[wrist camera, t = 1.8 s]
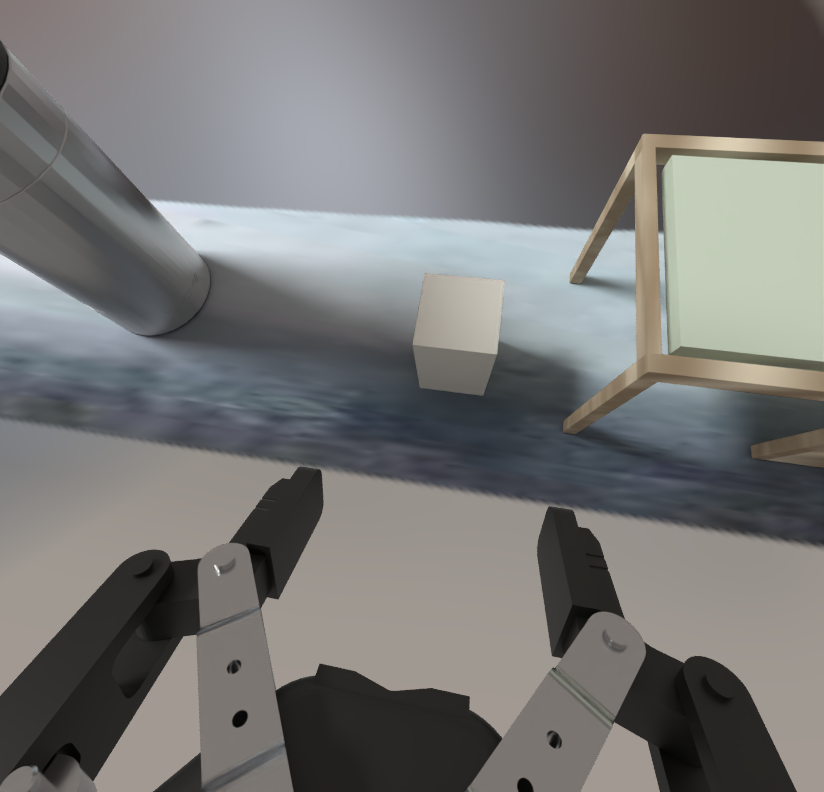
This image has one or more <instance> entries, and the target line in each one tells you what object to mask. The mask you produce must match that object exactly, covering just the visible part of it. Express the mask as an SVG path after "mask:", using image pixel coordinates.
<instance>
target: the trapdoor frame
mask: <svg viewBox="0 0 824 792" xmlns="http://www.w3.org/2000/svg"><path fill="white" fill-rule="evenodd" d="M672 155H678V156H695V157H712V158H729V159H747V160H764V161H781V162H798V163H816V164H824V142H811V141H790V140H768V139H746V138H724V137H702V136H679V135H678V136H677V135H659V134H643V136H642V137H641V139H640V141H639V143H638V145H637V147H636V149H635V151H634V153H633V155H632V156H631V158H630V160H629V162H628V164H627V166H626V168H625V170H624V172H623V174H622V176H621V177H620V179H619V181H618V183H617V185H616V187H615V189H614V191H613V193H612V195H611V197H610V199H609V201H608V202H607V205H606V206H605V208H604V210H603V212H602V214H601V216H600V218H599V220H598V222H597V224H596V226H595V227H594V229H593V231H592V233H591V235H590V237H589V239H588V241H587V243H586V244H585V246H584V248H583V250H582V252H581V254H580V256H579V258H578V260H577V262H576V264H575V266H574V267H573V269H572V271H571V273H570V283H576V284H581V283H582V281H583V280H584V278H585V276H586V274H587V273H588V271H589V269H590V268H591V266H592V264H593V263H594V261H595V259H596V258H597V256H598V254H599V252H600V251H601V249H602V247H603V246H604V244H605V242H606V241H607V239H608V237H609V236H610V234H611V232H612V230H613V229H614V227H615V225H616V223H617V222H618V220H619V218H620V217H621V215H622V213H623V212H624V210H625V208H626V207H627V205H628V203H629V201H630V200H631V198H632V196H633V195H634V193H635V245H636V341H637V362H635V363H634V364H633V365H632V366H630V367H629V368H628V369H627V370H626V371H624V372H623V373H622V374H621V375H619V376H618V377H617V378H616V379H614V380H613V381H612V382H611V383H609V384H608V385H607V386H606V387H605V388H603V389H602V390H601V391H600V392H598V393H597V394H596V395H595V396H593V397H592V398H591V399H590V400H588V401H587V402H586V403H585V404H583V405H582V406H581V407H580V408H579V409H577V410H576V411H575V412H574V413H572V414H571V415H570V416H569V417H567V418H566V419H565V420H564V421H563V433H571V434H576V433H578V432H579V431H581V430H583V429H584V428H586V427H587V426H589V425H591V424H592V423H594V422H595V421H597V420H598V419H600V418H602V417H603V416H605V415H606V414H608V413H609V412H611V411H613V410H614V409H616V408H617V407H619V406H620V405H622V404H624V403H625V402H627V401H628V400H630V399H631V398H633V397H635V396H636V395H638V394H639V393H641V392H643V391H644V390H646V389H647V388H649V387H650V386H652V385H654V384H655V383H657V382H663V383H671V384H680V385H689V386H697V387H706V388H714V389H723V390H731V391H740V392H748V393H757V394H766V395H774V396H783V397H791V398H800V399H808V400H817V401H824V372H820V371H811V370H802V369H793V368H783V367H774V366H765V365H756V364H747V363H737V362H728V361H719V360H710V359H701V358H691V357H682V356H673V355H664V354H662V340H661V308H660V275H659V243H658V213H657V181H656V180H657V179H656V164H663V165H666V164H667V162H668V161H669V159H670V158H671V156H672ZM751 454H752V458H755V459H763V460H770V461H778V462H785V463H792V464H800V465H807V466H815V467H822V468H824V428H822V429H818V430H814V431H810V432H805V433H801V434H797V435H793V436H788V437H784V438H780V439H776V440H772V441H767V442H763V443H759V444H755V445H751Z"/></svg>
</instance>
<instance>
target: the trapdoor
mask: <svg viewBox="0 0 824 792" xmlns="http://www.w3.org/2000/svg"><path fill="white" fill-rule="evenodd" d="M662 194H663V195H662V197H663V224H664V253H665V280H666V308H667V336H668V355H673V356H682V357H691V358H701V359H710V360H719V361H728V362H737V363H747V364H756V365H765V366H774V367H783V368H793V369H802V370H811V371H820V372H824V164H816V163H798V162H781V161H764V160H747V159H729V158H712V157H695V156H678V155H672V156H671V158H670V159H669V161H668V162H667V164H666V165H665V167H664V169H663V170H662Z"/></svg>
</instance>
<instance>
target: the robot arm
mask: <svg viewBox="0 0 824 792" xmlns="http://www.w3.org/2000/svg"><path fill="white" fill-rule="evenodd" d="M0 254H2V255H3V256H5V257H7V258H8V259H10V260H12V261H13V262H15V263H17V264H18V265H20V266H22V267H23V268H25V269H27V270H28V271H30V272H32V273H33V274H35V275H37V276H38V277H40V278H42V279H43V280H45V281H47V282H48V283H50V284H52V285H53V286H55V287H57V288H58V289H60V290H62V291H63V292H65V293H67V294H68V295H70V296H72V297H73V298H75V299H77V300H78V301H80V302H82V303H83V304H85V305H86V306H88V307H90V308H91V309H93V310H95V311H96V312H98V313H100V314H101V315H103V316H105V317H106V318H108V319H110V320H111V321H113V322H115V323H116V324H118V325H120V326H122V327H123V328H125V329H127V330H129V331H130V332H132V333H136V334H140V335H159V334H164V333H167V332H169V331H172V330H175V329H176V328H178V327H180V326H182V325H183V324H185V323H186V322H187V321H189V320H190V319H191V318H192V317H193V316H194V315H195V314H196V313H197V312H198V311H199V310H200V308H201V307H202V305H203V303H204V302H205V300H206V298H207V295H208V292H209V288H210V273H209V270H208V267H207V265H206V263H205V262H204V261H203V259H202V258H201V257H200V256H199V255H198V254H197V253H196V251H195V250H194V249H193V248H192V247H191V246H190V245H189V244H188V243H187V242H186V241H185V240H184V238H183V237H182V236H181V235H180V234H179V233H178V232H177V231H176V230H175V228H174V227H173V226H172V225H171V224H170V223H169V222H168V221H167V220H166V219H165V218H164V216H163V215H162V214H161V213H160V212H159V211H158V210H157V209H156V208H155V207H154V206H153V205H152V204H151V202H150V201H149V200H148V199H147V198H146V197H145V196H144V195H143V194H142V193H141V192H140V191H139V189H138V188H137V187H136V186H135V185H134V184H133V183H132V182H131V181H130V180H129V179H128V178H127V177H126V175H124V173H122V171H121V170H120V169H119V168H118V167H117V166H116V165H115V164H114V163H113V161H112V160H111V159H110V158H109V157H108V156H107V155H106V154H105V153H104V152H103V151H102V150H101V148H100V147H99V146H98V145H97V144H96V143H95V142H94V141H93V140H92V139H91V138H90V137H89V136H88V134H87V133H86V132H85V131H84V130H83V129H82V128H81V127H80V126H79V125H78V124H77V123H76V121H75V120H74V119H73V118H72V117H71V116H70V115H69V114H68V113H67V112H66V111H65V110H64V109H63V108H62V106H61V105H60V104H59V103H57V102H56V100H55V99H54V98H53V97H52V96H51V95H50V94H49V93H48V92H47V90H46V89H44V87H43V86H42V85H41V84H40V83H39V82H38V81H37V80H36V79H35V78H34V76H33V75H32V74H31V73H30V72H29V71H28V70H27V69H26V68H25V67H24V66H23V65H22V64H21V62H20V61H19V60H18V59H17V58H16V57H15V56H14V55H13V54H12V53H11V52H10V51H9V49H8V48H7V47H6V46H5V45H4V44H3V43H2V42H1V41H0ZM322 509H323V488H322V473H321V470H319V469H313V468H307V467H299V468H298V469H297V470H296V471H295V473H294V474H293V476H292V477H291V479H284V478H283V479H281V480H280V481H278V482H277V483H275V484H274V485H272V486H271V487H270V488H269V490H268V491H267V492H266V493H265V495H264V496H263V497H262V500H260V502H259V503H258V504H257V506H256V508H255V509H254V510H253V511H252V512H251V514H250V515H249V516H248V518H247V519H246V520H245V522H244V523H243V525H242V526H241V527H240V529H239V530H238V531H237V533H236V534H235V536H234V537H233V538H232V539H231V541H230V542H229V543H226V544H222V545H220V546H217V547H215V548H213V549H212V550H210V551H209V552H208V553H207V554H205V556H204V557H203V558H201V559H194V560H184V561H175V562H171V561H170V558H169V556H168V554H167V553H166V552H164V551H161V550H147V551H144V552H140V553H138V554H135V555H133V556H131V557H130V558H128V559H127V560H125V561H124V562H123V563H122V564H121V565H120V566H119V567H118V568H117V569H116V570H115V571H114V572H113V573H112V574H111V575H110V577H109V578H108V579H107V580H106V581H105V582H104V583H103V584H102V585H101V586H100V587H99V589H98V590H97V591H96V592H95V593H94V594H93V595H92V596H91V597H90V598H89V599H88V601H87V602H86V603H85V604H84V605H83V606H82V607H81V608H80V609H79V610H78V611H77V613H76V614H75V615H74V616H73V617H72V618H71V619H70V620H69V621H68V622H67V624H66V625H65V626H64V627H63V628H62V629H61V630H60V631H59V632H58V633H57V635H56V636H55V637H54V638H53V639H52V640H51V641H50V642H49V643H48V644H47V645H46V647H45V648H44V649H43V650H42V651H41V652H40V653H39V654H38V655H37V656H36V657H35V659H34V660H33V661H32V662H31V663H30V664H29V665H28V666H27V667H26V668H25V669H24V671H23V672H22V673H21V674H20V675H19V676H18V677H17V678H16V679H15V680H14V682H13V683H12V684H11V685H10V686H9V687H8V688H7V689H6V690H5V691H4V692H3V694H2V695H1V696H0V792H97V789H96V786H95V784H94V783H93V781H94V779H95V777H96V776H97V774H98V772H99V771H100V769H101V768H102V766H103V765H104V763H105V761H106V760H107V758H108V756H109V755H110V753H111V752H112V750H113V749H114V747H115V745H116V744H117V742H118V740H119V739H120V737H121V736H122V734H123V732H124V731H125V729H126V728H127V726H128V724H129V723H130V721H131V720H132V718H133V716H134V715H135V713H136V711H137V710H138V708H139V707H140V705H141V704H142V702H143V700H144V699H145V697H146V695H147V694H148V692H149V691H150V689H151V687H152V686H153V684H154V682H155V681H156V679H157V677H158V676H159V675H160V673H161V671H162V670H163V668H164V667H165V665H166V663H167V662H168V660H169V658H170V657H171V655H172V654H173V652H174V650H175V649H176V647H177V646H178V644H179V642H180V641H181V639H182V638H183V636H190V635H197V664H198V691H199V718H200V744H201V752H200V753H199V754H198V755H197V756H196V757H194V758H193V759H192V760H191V761H190V762H189V763H187V764H186V765H185V766H184V767H182V768H181V769H180V770H179V771H178V772H177V773H175V774H174V775H173V776H172V777H170V778H169V779H168V780H167V781H166V782H164V783H163V784H162V785H161V786H160V787H158V788H157V789H156V790H155V791H153V792H580V791H581V789H582V787H583V785H584V783H585V781H586V779H587V777H588V775H589V773H590V771H591V769H592V767H593V765H594V763H595V761H596V759H597V757H598V755H599V753H600V751H601V749H602V747H603V744H604V743H605V740H606V738H607V736H608V734H609V732H610V730H611V728H612V726H613V724H614V722H615V723H617V724H619V725H620V726H622V727H624V728H626V729H627V730H629V731H631V732H633V733H634V734H636V735H638V736H640V737H641V738H643V739H645V740H646V741H648V745H649V749H650V753H651V757H652V761H653V765H654V769H655V773H656V777H657V781H658V785H659V789H660V792H797V791H796V789H795V787H794V785H793V783H792V781H791V779H790V777H789V775H788V772H787V770H786V768H785V766H784V764H783V762H782V760H781V758H780V756H779V754H778V752H777V750H776V747H775V745H774V744H773V741H772V739H771V737H770V735H769V733H768V731H767V729H766V727H765V724H764V723H763V720H762V718H761V716H760V714H759V712H758V710H757V708H756V706H755V704H754V702H753V700H752V698H751V695H750V694H749V692H748V690H747V689H746V687H745V686H744V684H743V683H742V682H741V681H740V680H739V679H738V678H737V676H736V675H734V674H733V673H732V672H731V671H730V670H729V669H727V668H726V667H724V666H723V665H722V664H720V663H718V662H716V661H714V660H712V659H709V658H706V657H702V656H694V657H690V658H689V659H687V661H685V663H683V662H680V661H679V660H677V659H674V658H672V657H670V656H668V655H666V654H664V653H662V652H660V651H658V650H656V649H654V648H652V647H651V646H649V645H648V644H646V643H645V642H644V641H643V639H642V637H641V636H640V634H639V632H638V631H637V630H636V629H635V628H634V627H633V626H632V625H631V624H630V623H629V622H628V621H626V620H625V618H624V615H623V613H622V610H621V607H620V604H619V600H618V597H617V595H616V591H615V588H614V585H613V582H612V579H611V576H610V573H609V571H608V567H607V564H606V561H605V559H604V555H603V552H602V549H601V546H600V543H599V541H598V540H597V539H596V538H595V536H594V535H593V534H592V533H591V531H590V530H589V529H587V528H581V527H578V525H577V521H576V517H575V514H574V512H573V510H569V509H563V508H557V507H548V509H547V512H546V515H545V519H544V522H543V525H542V529H541V533H540V535H539V539H538V547H537V556H538V564H539V569H540V577H541V584H542V591H543V598H544V604H545V611H546V618H547V625H548V632H549V639H550V646H551V652H552V656H554V657H560V658H562V659H561V661H560V662H559V664H558V665H557V666H556V667H555V668H552V669H551V670H550V671H549V673H548V674H547V675H546V677H545V678H544V680H543V681H542V683H541V684H540V686H539V687H538V688H537V690H536V691H535V693H534V694H533V696H532V697H531V698H530V700H529V701H528V703H527V704H526V706H525V707H524V708H523V710H522V712H521V713H520V714H519V716H518V717H517V719H516V720H515V722H514V723H513V724H512V726H511V728H510V729H509V730H508V732H507V733H506V734H505V736H504V737H503V739H502V737H501V736H500V735H499V734H498V733H497V732H496V730H495V729H494V728H493V727H492V726H491V725H490V724H488V723H487V722H486V721H485V720H484V719H483V718H481V717H480V716H479V715H477V714H476V713H474V712H472V711H471V710H469V699H470V697H469V696H465V695H460V694H456V693H451V692H447V691H442V690H437V689H433V688H428V689H416V690H403V691H390V690H387V689H386V688H384V687H382V686H380V685H378V684H377V683H375V682H373V681H371V680H370V679H368V678H366V677H364V676H362V675H361V674H359V673H357V672H355V671H351V670H346V669H342V668H338V667H333V666H329V665H324V664H319V667H318V670H317V673H316V676H309V677H305V678H301V679H298V680H295V681H292V682H290V683H288V684H286V685H284V686H282V687H281V688H279V689H278V690H276V686H275V681H274V677H273V671H272V666H271V661H270V656H269V650H268V645H267V640H266V634H265V629H264V624H263V618H262V613H261V607H262V605H263V603H264V601H265V599H266V598H267V597H269V598H274V599H279V597H280V595H281V593H282V591H283V589H284V587H285V585H286V583H287V581H288V580H289V577H290V576H291V574H292V572H293V570H294V568H295V566H296V564H297V562H298V560H299V558H300V556H301V554H302V552H303V550H304V548H305V546H306V544H307V542H308V541H309V539H310V537H311V534H312V533H313V531H314V529H315V527H316V525H317V523H318V521H319V519H320V516H321V514H322Z"/></svg>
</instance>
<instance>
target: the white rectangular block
mask: <svg viewBox="0 0 824 792" xmlns="http://www.w3.org/2000/svg"><path fill="white" fill-rule="evenodd" d="M504 283H505V281H504V280H493V279H482V278H471V277H460V276H449V275H439V274H428V273H425V275H424V281H423V286H422V292H421V298H420V304H419V310H418V315H417V321H416V327H415V333H414V338H413V344H412V345H413V351H414V357H415V363H416V369H417V374H418V380H419V386H420V388H426V389H433V390H441V391H449V392H457V393H465V394H473V395H481V396H483V395H484V392H485V389H486V386H487V383H488V380H489V377H490V374H491V371H492V368H493V365H494V362H495V359H496V356H497V350H498V341H499V331H500V321H501V312H502V302H503V292H504Z"/></svg>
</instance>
